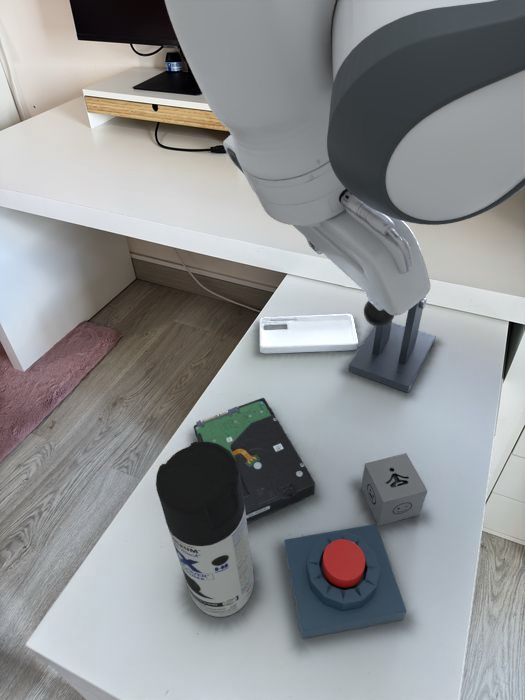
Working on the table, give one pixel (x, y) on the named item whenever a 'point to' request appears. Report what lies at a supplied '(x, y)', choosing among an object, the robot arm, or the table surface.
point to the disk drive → (260, 457)
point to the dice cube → (393, 489)
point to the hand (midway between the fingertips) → (350, 272)
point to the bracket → (394, 352)
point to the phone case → (309, 334)
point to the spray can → (208, 525)
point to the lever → (376, 315)
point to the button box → (336, 602)
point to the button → (343, 563)
